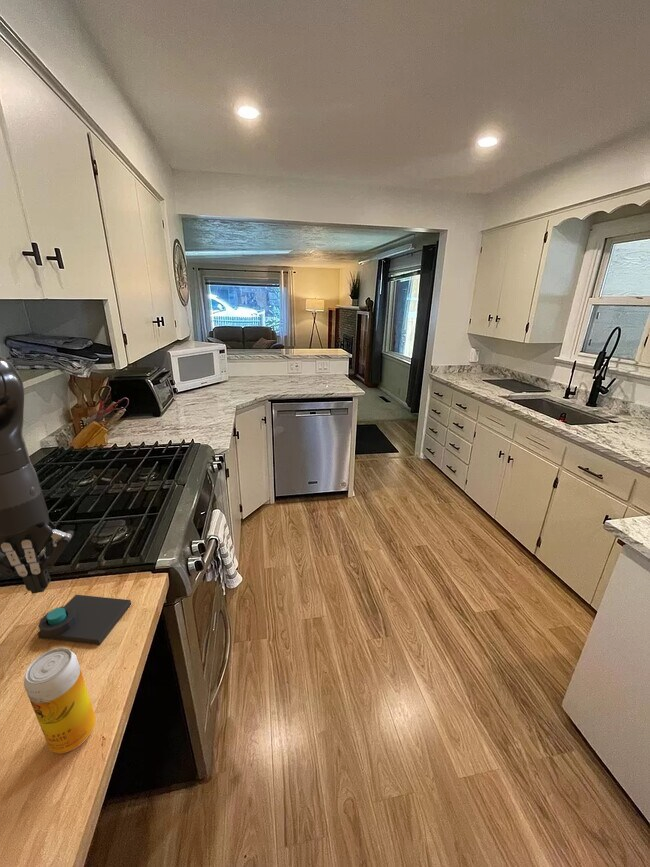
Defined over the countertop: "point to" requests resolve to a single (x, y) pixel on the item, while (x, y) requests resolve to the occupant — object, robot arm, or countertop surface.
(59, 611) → the button
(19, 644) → the countertop surface
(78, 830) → the countertop surface
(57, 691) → the beer can
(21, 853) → the countertop surface
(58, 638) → the scale
